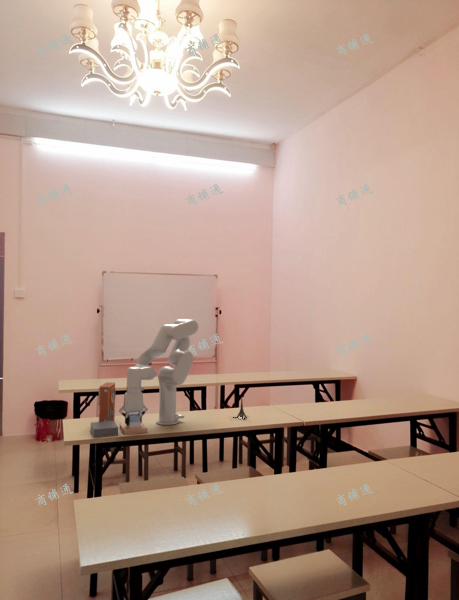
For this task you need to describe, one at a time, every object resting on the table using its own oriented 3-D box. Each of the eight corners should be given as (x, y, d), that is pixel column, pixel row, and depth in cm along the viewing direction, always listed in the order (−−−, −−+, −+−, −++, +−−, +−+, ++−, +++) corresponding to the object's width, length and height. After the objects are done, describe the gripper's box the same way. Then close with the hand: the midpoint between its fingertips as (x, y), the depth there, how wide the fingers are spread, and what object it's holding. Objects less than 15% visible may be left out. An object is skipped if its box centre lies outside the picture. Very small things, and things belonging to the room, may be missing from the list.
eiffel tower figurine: (252, 416, 282) (252, 394, 283) (255, 420, 272) (256, 397, 272) (228, 417, 280) (228, 394, 280) (230, 421, 270) (230, 398, 270)
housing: (136, 423, 252) (137, 411, 252) (140, 427, 244) (140, 415, 244) (126, 424, 250) (126, 412, 250) (129, 428, 242) (129, 416, 242)
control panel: (116, 419, 269) (109, 426, 254) (104, 419, 269) (96, 426, 254) (117, 382, 269) (109, 386, 254) (104, 382, 269) (97, 386, 254)
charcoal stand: (113, 428, 250) (114, 420, 250) (118, 435, 237) (118, 427, 237) (90, 430, 245) (90, 422, 245) (93, 437, 233) (93, 429, 233)
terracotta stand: (141, 425, 256) (141, 422, 256) (147, 432, 243) (147, 428, 243) (119, 427, 251) (119, 423, 251) (124, 434, 238) (124, 430, 238)
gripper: (148, 388, 254) (147, 421, 254) (116, 390, 247) (115, 424, 247) (151, 390, 247) (151, 424, 247) (118, 392, 240) (118, 427, 240)
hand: (133, 424), depth 247 cm, fingers open, 5 cm apart
